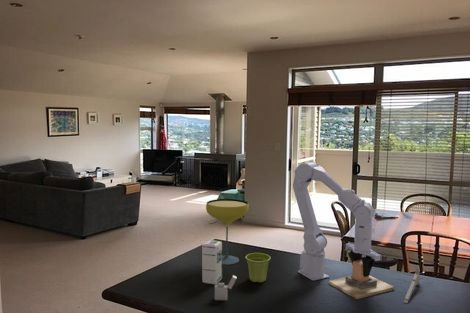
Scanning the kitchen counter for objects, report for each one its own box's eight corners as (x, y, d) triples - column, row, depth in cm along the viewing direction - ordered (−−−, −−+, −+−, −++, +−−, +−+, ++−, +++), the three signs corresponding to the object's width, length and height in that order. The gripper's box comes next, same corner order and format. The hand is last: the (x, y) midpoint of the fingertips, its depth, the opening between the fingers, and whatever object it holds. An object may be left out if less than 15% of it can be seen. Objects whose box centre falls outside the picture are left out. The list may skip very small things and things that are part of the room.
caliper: (415, 283, 137) (416, 267, 137) (419, 284, 137) (420, 267, 136) (403, 303, 121) (404, 284, 120) (407, 304, 120) (408, 285, 120)
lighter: (214, 299, 121) (214, 276, 120) (215, 297, 122) (215, 274, 122) (236, 300, 120) (236, 276, 120) (236, 298, 122) (236, 274, 122)
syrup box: (216, 284, 132) (217, 245, 131) (201, 282, 134) (202, 243, 133) (222, 278, 138) (222, 241, 137) (207, 276, 140) (208, 239, 139)
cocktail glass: (228, 250, 170) (228, 197, 168) (256, 261, 157) (257, 203, 155) (196, 259, 158) (197, 202, 156) (224, 271, 145) (225, 209, 143)
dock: (328, 283, 135) (328, 275, 135) (364, 275, 143) (364, 268, 143) (356, 299, 123) (357, 290, 122) (394, 289, 131) (394, 281, 130)
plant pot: (256, 286, 131) (257, 263, 131) (239, 278, 138) (240, 256, 138) (275, 280, 137) (275, 257, 136) (258, 272, 144) (258, 251, 144)
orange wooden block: (352, 280, 133) (352, 261, 133) (360, 278, 135) (360, 259, 135) (360, 284, 130) (361, 264, 129) (368, 282, 132) (369, 263, 131)
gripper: (340, 233, 136) (338, 268, 137) (370, 244, 123) (369, 283, 124) (354, 231, 139) (352, 265, 140) (385, 241, 127) (383, 279, 128)
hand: (361, 273), depth 133 cm, fingers closed on orange wooden block, 4 cm apart
